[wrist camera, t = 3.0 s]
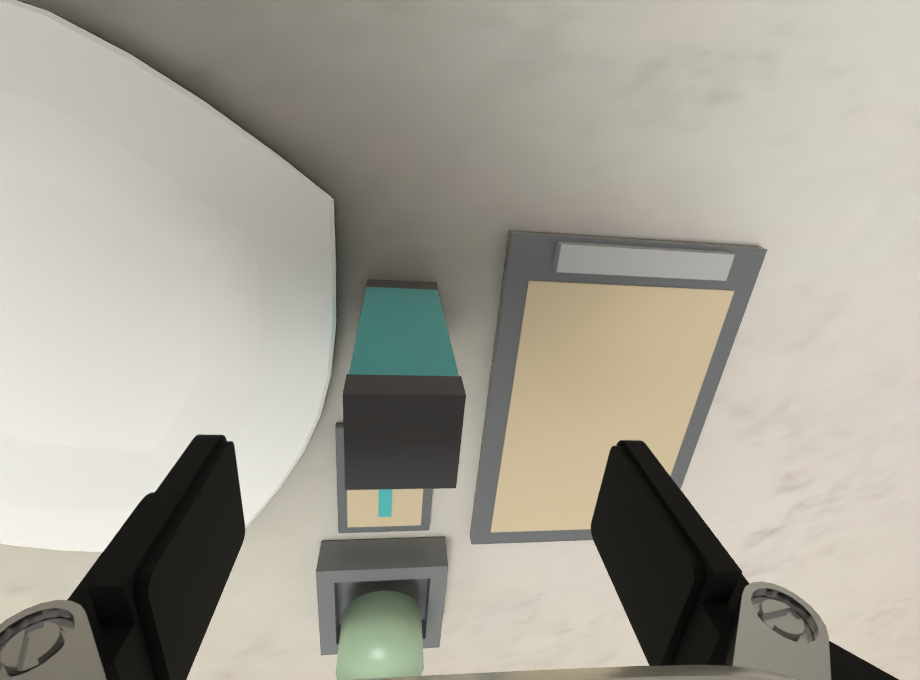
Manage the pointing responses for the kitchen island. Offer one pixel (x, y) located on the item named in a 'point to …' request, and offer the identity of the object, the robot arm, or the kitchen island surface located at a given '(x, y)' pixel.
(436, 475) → the marker
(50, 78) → the plate
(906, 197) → the kitchen island surface
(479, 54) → the kitchen island surface
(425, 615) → the button base
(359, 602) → the button
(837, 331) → the kitchen island surface
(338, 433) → the card
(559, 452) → the board
